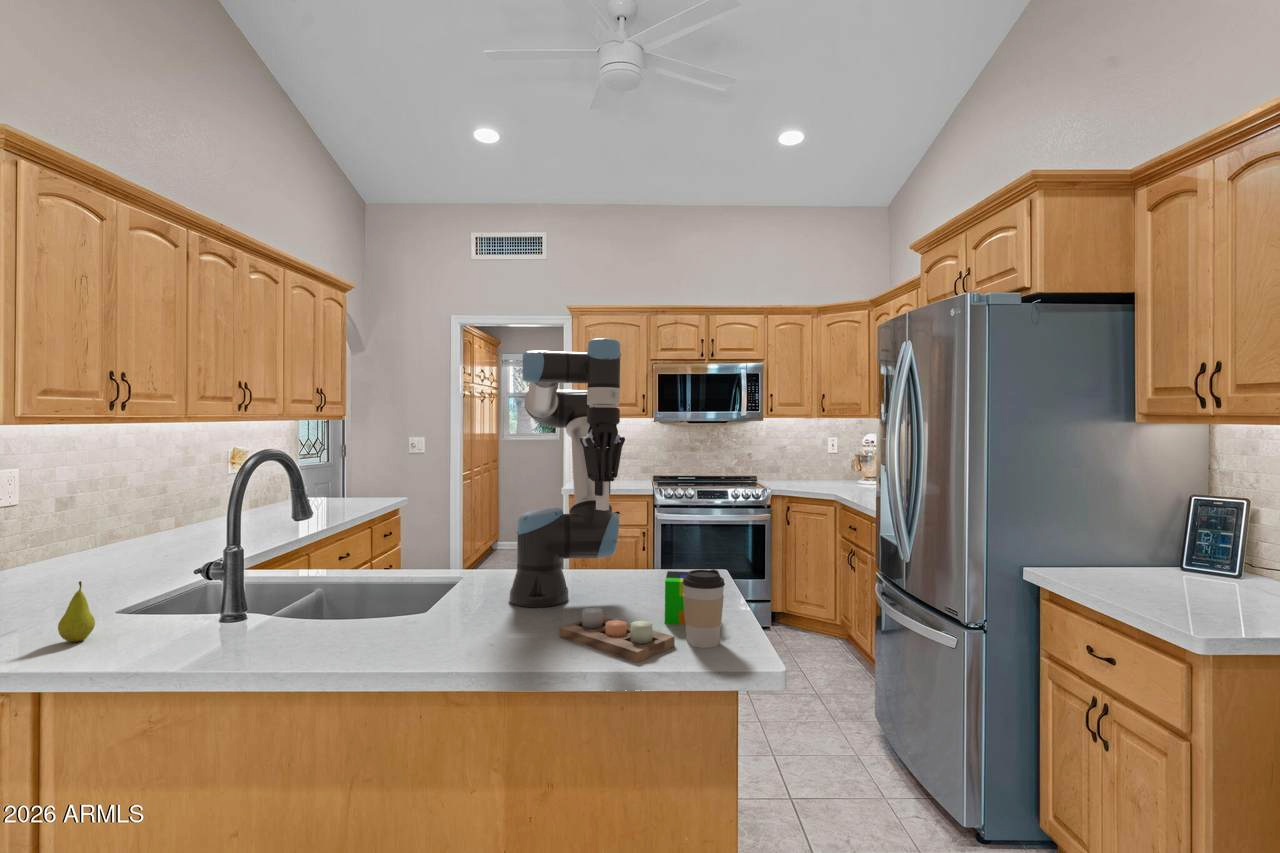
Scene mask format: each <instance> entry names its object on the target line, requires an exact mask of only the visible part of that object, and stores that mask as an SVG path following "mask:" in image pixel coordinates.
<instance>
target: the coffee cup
mask: <svg viewBox="0 0 1280 853" xmlns="http://www.w3.org/2000/svg"><path fill="white" fill-rule="evenodd" d="M687 572H688V574H687V575H686V576H684V578H683V582H682V584H683V588H684V594H683V601H684V614H685V623H686V625H685V633H686V634H685V635H686V643H687V644H688V645H690V646H691V647H692V646H693V647H695V648H702V649H703V648H704V649H705V648H706V649H707V648H714V647H717V646H718V645H719V644H720V635H721V634H720V632H721V625H722V618H723V610H724V609H723V608H724V588H725V587H724V586H726V583H725V578H723V577H722V576H721V575H720V571H719V570H717V569H714V568H713V569H693V570H690V571H687Z"/></svg>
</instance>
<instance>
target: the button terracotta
mask: <svg viewBox="0 0 1280 853" xmlns="http://www.w3.org/2000/svg"><path fill="white" fill-rule="evenodd" d="M627 623H628V622H627V621H624V620H619V619H614V620H612V621H608V622H606V624H605V634H606V635H609V636H613V637H616V638H618V637H620V636H623V635H626V634H627Z"/></svg>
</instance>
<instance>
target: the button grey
mask: <svg viewBox="0 0 1280 853" xmlns="http://www.w3.org/2000/svg"><path fill="white" fill-rule="evenodd" d="M603 612H604V610H603V609H602V608H599V607H586V608H584V609H582V610H581V620H582V627H583V628H587V629H590V630H595V629H598V628H601V627H602V626H603V616H604V613H603Z"/></svg>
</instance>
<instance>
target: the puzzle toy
mask: <svg viewBox="0 0 1280 853" xmlns="http://www.w3.org/2000/svg"><path fill="white" fill-rule="evenodd" d="M688 572H689V571H676V570H675V571H674V570H670V571H669V570H668V571H667V572H666V576H665V581H664V625H675V626H676V625H677V626H686V623H685V614H684V601H683V594H684V588H683V584H682V582H683V578H684V576H686V575H687V574H688Z"/></svg>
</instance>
